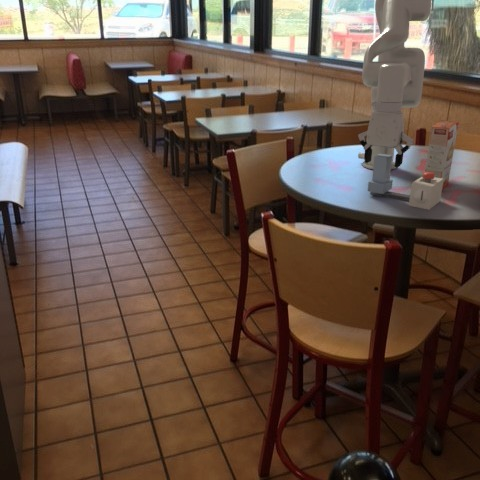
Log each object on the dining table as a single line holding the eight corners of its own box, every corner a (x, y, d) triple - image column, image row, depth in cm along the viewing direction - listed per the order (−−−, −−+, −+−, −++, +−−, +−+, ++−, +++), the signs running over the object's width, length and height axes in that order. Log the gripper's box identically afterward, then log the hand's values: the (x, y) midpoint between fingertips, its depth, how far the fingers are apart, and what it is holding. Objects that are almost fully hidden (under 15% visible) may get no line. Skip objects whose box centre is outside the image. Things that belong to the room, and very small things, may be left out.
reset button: (419, 183, 151) (421, 173, 150) (423, 180, 154) (425, 171, 153) (431, 185, 150) (432, 175, 148) (435, 182, 152) (436, 172, 151)
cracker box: (440, 193, 163) (450, 127, 155) (421, 191, 166) (430, 125, 158) (449, 183, 174) (459, 120, 166) (431, 180, 177) (440, 119, 169)
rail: (370, 193, 163) (370, 190, 163) (373, 192, 165) (373, 188, 164) (413, 202, 155) (413, 198, 155) (416, 200, 157) (416, 196, 156)
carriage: (367, 191, 161) (370, 156, 156) (377, 186, 166) (380, 152, 162) (382, 194, 158) (386, 158, 154) (391, 188, 163) (395, 154, 159)
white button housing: (408, 205, 152) (411, 183, 149) (420, 197, 160) (423, 175, 157) (428, 210, 149) (431, 186, 146) (440, 200, 156) (443, 178, 153)
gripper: (356, 106, 154) (351, 162, 160) (412, 111, 144) (405, 170, 151) (366, 104, 160) (362, 158, 166) (421, 108, 150) (414, 166, 156)
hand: (382, 164), depth 158 cm, fingers open, 9 cm apart
